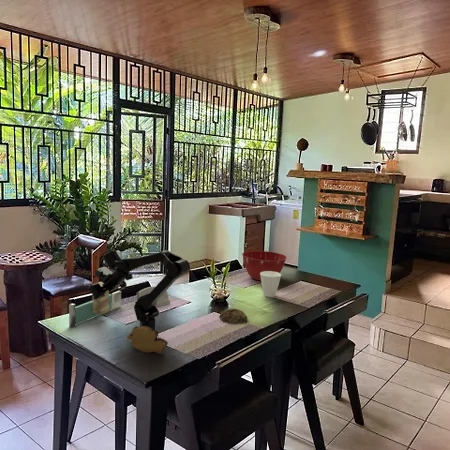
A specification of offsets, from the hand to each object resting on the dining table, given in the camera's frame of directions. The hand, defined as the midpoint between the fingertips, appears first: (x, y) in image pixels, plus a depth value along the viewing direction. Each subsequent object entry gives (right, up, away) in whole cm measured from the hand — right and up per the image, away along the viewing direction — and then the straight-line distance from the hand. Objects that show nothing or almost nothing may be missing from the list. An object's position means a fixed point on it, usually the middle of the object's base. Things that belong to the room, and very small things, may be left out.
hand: (98, 297), depth 184 cm
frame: (-2, -10, +4) cm, 10 cm away
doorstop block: (+1, -7, 0) cm, 7 cm away
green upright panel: (-2, -9, +2) cm, 10 cm away
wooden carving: (+27, -16, -28) cm, 42 cm away
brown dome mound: (+61, -12, +9) cm, 62 cm away
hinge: (+20, -8, +23) cm, 32 cm away
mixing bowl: (+82, -2, +80) cm, 114 cm away
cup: (+82, -7, +46) cm, 94 cm away
